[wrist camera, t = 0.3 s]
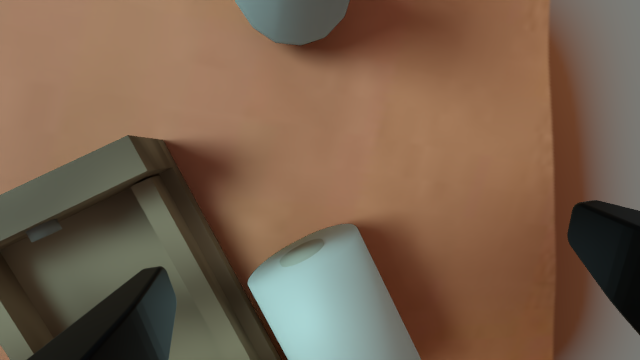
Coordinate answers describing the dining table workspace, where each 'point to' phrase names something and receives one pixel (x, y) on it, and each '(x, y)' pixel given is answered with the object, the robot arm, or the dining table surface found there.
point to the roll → (330, 300)
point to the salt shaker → (294, 18)
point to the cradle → (118, 254)
